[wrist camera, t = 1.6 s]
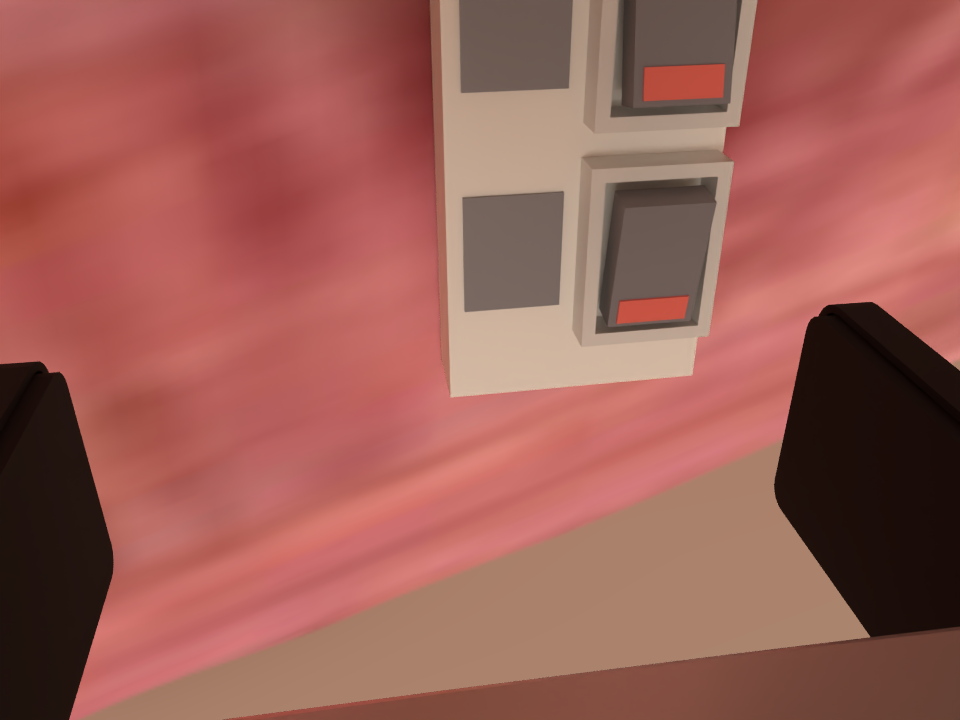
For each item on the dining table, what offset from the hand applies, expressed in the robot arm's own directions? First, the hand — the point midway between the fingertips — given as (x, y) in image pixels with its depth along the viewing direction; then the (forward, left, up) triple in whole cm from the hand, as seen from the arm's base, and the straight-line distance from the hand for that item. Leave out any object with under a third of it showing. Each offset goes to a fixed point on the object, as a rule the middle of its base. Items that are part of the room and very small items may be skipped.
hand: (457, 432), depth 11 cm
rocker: (+6, +9, -18) cm, 22 cm away
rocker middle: (-2, +9, -18) cm, 21 cm away
